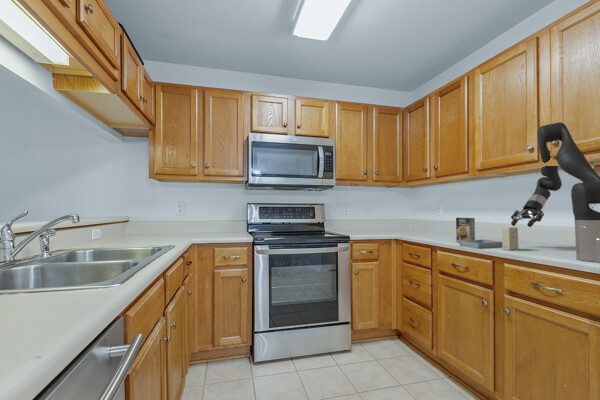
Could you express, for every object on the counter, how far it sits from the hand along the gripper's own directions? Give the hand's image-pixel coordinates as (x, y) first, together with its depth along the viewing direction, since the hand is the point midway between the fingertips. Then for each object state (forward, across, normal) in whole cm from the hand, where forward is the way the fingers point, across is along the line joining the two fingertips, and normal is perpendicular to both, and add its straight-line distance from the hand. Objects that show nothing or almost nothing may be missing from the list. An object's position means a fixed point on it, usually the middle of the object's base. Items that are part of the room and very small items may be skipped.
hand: (520, 225), depth 153 cm
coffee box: (+11, -33, +7) cm, 36 cm away
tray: (+17, -15, +1) cm, 23 cm away
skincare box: (+15, 0, +4) cm, 15 cm away
